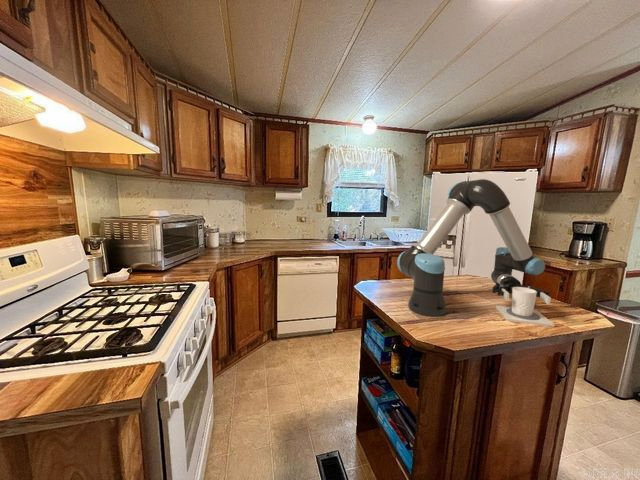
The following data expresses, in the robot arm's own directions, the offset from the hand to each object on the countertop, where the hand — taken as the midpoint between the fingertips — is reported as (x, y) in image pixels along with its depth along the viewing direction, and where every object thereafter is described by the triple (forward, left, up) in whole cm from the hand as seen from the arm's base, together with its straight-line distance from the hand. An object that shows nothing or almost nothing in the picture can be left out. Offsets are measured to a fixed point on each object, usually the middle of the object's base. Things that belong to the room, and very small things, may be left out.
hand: (528, 298), depth 103 cm
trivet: (0, +3, -8) cm, 9 cm away
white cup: (0, +3, -8) cm, 8 cm away
